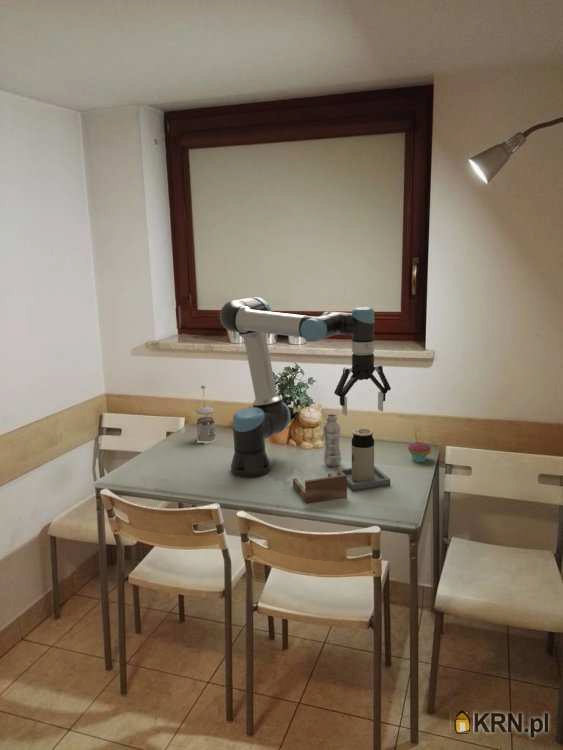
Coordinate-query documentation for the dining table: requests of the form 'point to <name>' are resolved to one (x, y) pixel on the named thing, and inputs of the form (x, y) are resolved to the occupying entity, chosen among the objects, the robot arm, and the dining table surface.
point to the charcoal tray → (377, 482)
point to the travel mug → (362, 455)
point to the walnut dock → (322, 488)
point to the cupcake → (419, 450)
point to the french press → (205, 423)
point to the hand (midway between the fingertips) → (362, 412)
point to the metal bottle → (332, 441)
